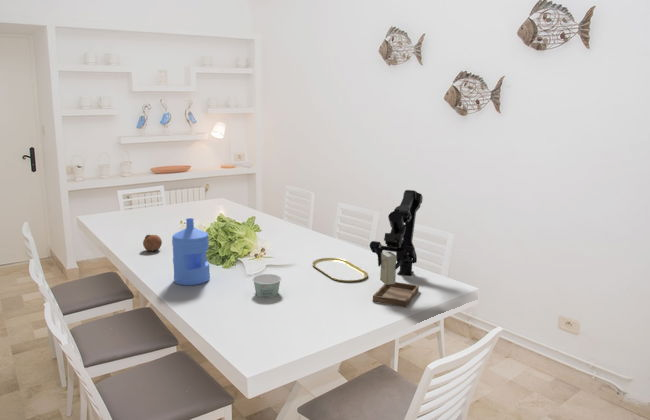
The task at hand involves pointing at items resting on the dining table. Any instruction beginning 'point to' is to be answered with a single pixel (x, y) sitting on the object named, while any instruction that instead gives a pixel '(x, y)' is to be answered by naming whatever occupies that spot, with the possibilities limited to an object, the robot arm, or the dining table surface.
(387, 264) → the skincare box
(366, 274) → the gold hoop ring
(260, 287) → the food container
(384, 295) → the walnut tray
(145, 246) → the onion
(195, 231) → the water jug
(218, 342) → the dining table surface
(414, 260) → the robot arm
